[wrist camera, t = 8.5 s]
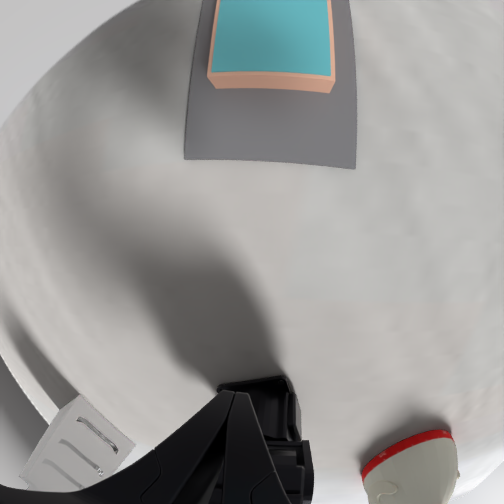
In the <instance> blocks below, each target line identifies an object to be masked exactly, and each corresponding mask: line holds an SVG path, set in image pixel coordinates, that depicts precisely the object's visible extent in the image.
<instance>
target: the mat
mask: <svg viewBox="0 0 504 504" xmlns="http://www.w3.org/2000/svg"><path fill="white" fill-rule="evenodd" d="M216 4H217V0H203V4H202V9H201V15H200V20H199V26H198V32H197V39H196V45H195V52H194V60H193V67H192V75H191V84H190V93H189V103H188V114H187V126H186V139H185V155H184V159H185V160H247V161H269V162H285V163H298V164H309V165H320V166H329V167H338V168H346V169H356V145H357V88H356V65H355V50H354V38H353V28H352V19H351V11H350V4H349V0H331V8H332V20H333V34H334V52H335V83H334V85H333V87H332V89H331V91H330V93H322V92H313V91H302V90H289V89H268V88H224V89H216V88H215V87H214V85H213V84H212V83H211V81H210V80H209V79H208V78H207V71H208V62H209V54H210V46H211V38H212V31H213V24H214V17H215V10H216Z"/></svg>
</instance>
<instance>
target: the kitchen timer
mask: <svg viewBox="0 0 504 504" xmlns="http://www.w3.org/2000/svg"><path fill="white" fill-rule="evenodd" d="M459 477H460V473H459V471H458V461H457V449H456V445H455V442H454V440H453V438H452V436H451V434H450V433H449V432H448V431H445V430H432V431H427V432H424V433H420V434H417V435H414V436H412V437H410V438H407V439H405V440H402V441H400V442H398V443H397V444H395V445H393V446H391V447H389V448H387V449H386V450H384V451H383V452H381V453H380V454H378V455H377V456H375V457H374V458H373V459H372V460H371V461H370V462H369V463H368V464H367V465H366V466H365V468H364V469H363V471H362V481H363V486H364V489H365V491H366V493H367V495H368V501H369V504H447V503H448V501H449V500H450V498H451V496H452V493H453V491H454V488H455V484H456V480H457V479H458V478H459Z"/></svg>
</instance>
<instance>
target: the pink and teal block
mask: <svg viewBox="0 0 504 504" xmlns="http://www.w3.org/2000/svg"><path fill="white" fill-rule="evenodd" d="M207 78H208V79H209V80H210V81H211V83H212V84H213V85H214V87H215V88H216V89H224V88H268V89H289V90H302V91H313V92H322V93H330V91H331V89H332V87H333V85H334V83H335V52H334V34H333V20H332V8H331V0H217V4H216V10H215V17H214V24H213V31H212V38H211V46H210V54H209V62H208V71H207Z"/></svg>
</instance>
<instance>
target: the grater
mask: <svg viewBox="0 0 504 504" xmlns="http://www.w3.org/2000/svg"><path fill="white" fill-rule="evenodd" d="M79 417H82V418H84V419H86V420H88V421H89V422H90V423H91V424H92V425H93V426H94V427H95V428H96V429H97V430H98V431H100V432H101V433H102V434H103V435H104V436H105V437H107V438H108V439H109V440H110V441H111V442H113V443H114V444H115V445H116V447H117V448H118V450H116V451H114V450H113V448H112V447H111V446H110V445H109V444H107V443H106V442H105V441H104V440H103V439H101V438H100V437H99V436H98V435H97V434H96V433H94V432H93V431H92V430H91V429H90V428H89V427H87V426H86V425H85V424H84V423H82V422H78V421H76V420H77V419H78V418H79ZM135 446H136V444H135V443H133V442H132V441H131V440H130V439H128V438H127V437H126V436H125V435H124V434H122V433H121V432H120V431H119V430H118V429H116V428H115V427H114V426H113V425H112V424H111V423H110V422H108V421H107V420H106V419H105V418H104V417H103V416H102V415H101V414H100V413H99V412H98V411H96V410H95V409H94V408H93V407H92V406H91V405H90V404H89V403H88V402H87V401H86V400H85V399H84V398H83V397H82V396H81V395H78V396H77V397H76V398H75V399H73V400H72V401H71V402H69V403H68V404H67V405H65V406H64V407H63V408H62V409H60V410H59V412H58V413H57V415H56V416H55V418H54V419H53V421H52V422H51V424H50V426H49V427H48V429H47V430H46V432H45V433H44V435H43V437H42V438H41V440H40V441H39V443H38V445H37V446H36V448H35V450H34V451H33V453H32V455H31V456H30V458H29V460H28V461H27V463H26V465H25V467H24V469H23V470H22V472H21V474H20V475H19V477H21V478H22V479H23V480H24V481H25V482H26V483H27V484H29V487H28V488H27V489H26V490H32V491H45V492H73V491H78V490H82V488H83V487H85V488H87V487H89V486H91V485H94V484H96V483H98V482H100V481H102V480H104V479H106V478H108V477H110V476H112V474H113V473H114V472H115V471H116V469H117V468H118V467H119V466H120V465H121V463H122V462H123V461H124V460H125V458H126V457H127V456H128V455H129V453H130V452H131V451H132V450H133V448H134V447H135ZM99 468H100V469H101V471H100V470H99V471H97V470H98V469H99ZM100 472H101V474H102V473H104V474H103V475H101V474H100V475H99V473H100ZM100 477H101V478H100ZM85 488H84V489H85Z"/></svg>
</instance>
